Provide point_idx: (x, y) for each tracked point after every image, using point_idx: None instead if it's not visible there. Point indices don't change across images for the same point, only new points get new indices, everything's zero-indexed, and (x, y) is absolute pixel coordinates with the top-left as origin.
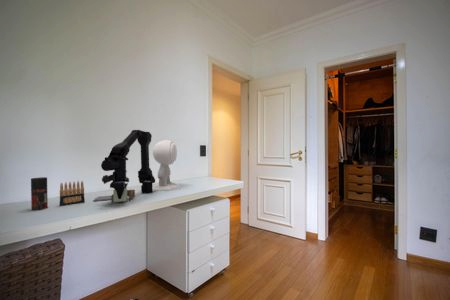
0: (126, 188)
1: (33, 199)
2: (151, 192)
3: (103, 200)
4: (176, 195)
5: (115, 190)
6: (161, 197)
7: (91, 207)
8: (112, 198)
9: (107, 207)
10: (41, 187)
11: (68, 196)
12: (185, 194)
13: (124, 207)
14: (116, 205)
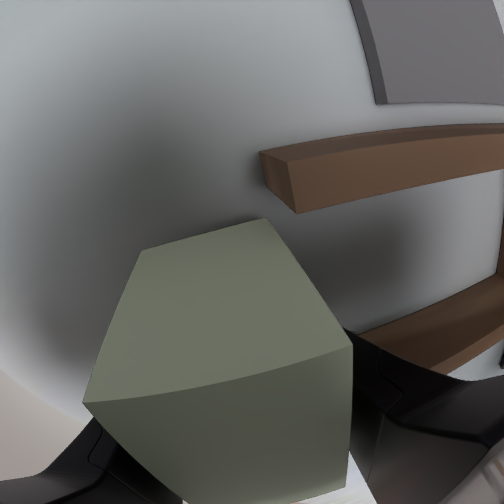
0: (340, 486)
1: None
2: (500, 364)
3: (353, 4)
4: (367, 488)
5: (115, 435)
6: (349, 471)
7: (6, 49)
8: (274, 175)
9: (5, 248)
10: None
11: None
12: (370, 497)
13: (52, 395)
14: (85, 310)
